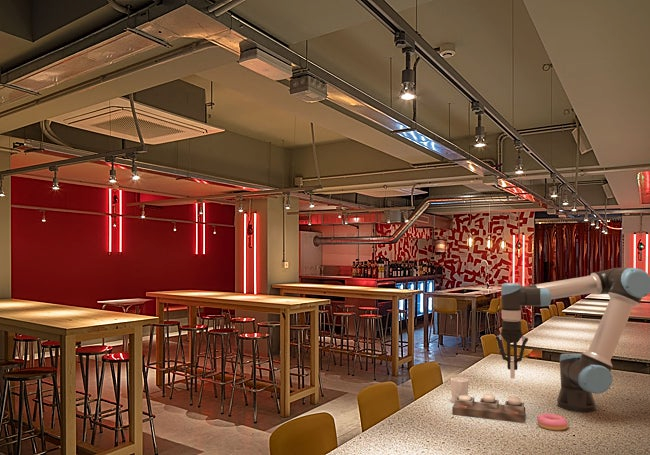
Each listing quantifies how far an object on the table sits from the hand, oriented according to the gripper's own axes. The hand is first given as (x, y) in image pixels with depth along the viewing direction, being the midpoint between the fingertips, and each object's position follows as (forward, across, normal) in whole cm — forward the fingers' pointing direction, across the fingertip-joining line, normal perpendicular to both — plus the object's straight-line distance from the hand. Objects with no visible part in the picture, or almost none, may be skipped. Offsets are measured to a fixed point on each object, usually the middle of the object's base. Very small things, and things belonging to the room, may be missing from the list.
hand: (512, 377), depth 201 cm
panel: (+16, +10, +1) cm, 18 cm away
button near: (+10, 0, 0) cm, 10 cm away
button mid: (+11, +10, 0) cm, 14 cm away
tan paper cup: (+16, +24, -13) cm, 31 cm away
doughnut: (+16, -14, +7) cm, 23 cm away
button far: (+12, +20, 0) cm, 23 cm away
